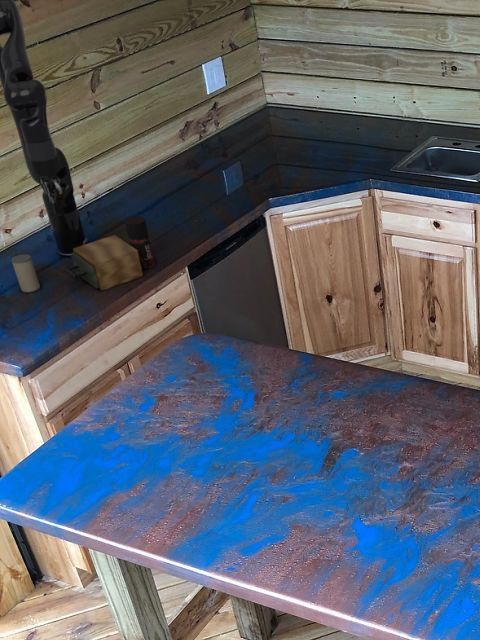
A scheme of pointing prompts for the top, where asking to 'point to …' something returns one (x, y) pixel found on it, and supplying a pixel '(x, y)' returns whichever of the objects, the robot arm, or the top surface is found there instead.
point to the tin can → (25, 273)
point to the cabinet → (111, 261)
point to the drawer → (83, 270)
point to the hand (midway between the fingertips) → (59, 213)
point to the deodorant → (140, 240)
